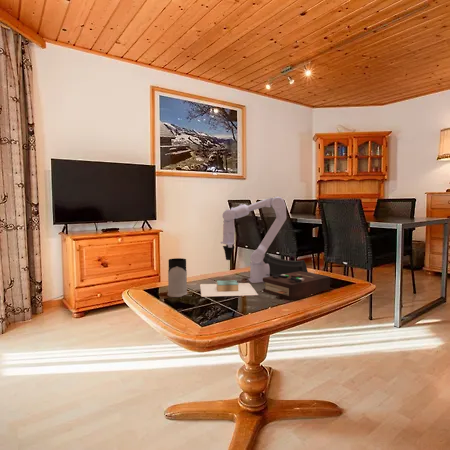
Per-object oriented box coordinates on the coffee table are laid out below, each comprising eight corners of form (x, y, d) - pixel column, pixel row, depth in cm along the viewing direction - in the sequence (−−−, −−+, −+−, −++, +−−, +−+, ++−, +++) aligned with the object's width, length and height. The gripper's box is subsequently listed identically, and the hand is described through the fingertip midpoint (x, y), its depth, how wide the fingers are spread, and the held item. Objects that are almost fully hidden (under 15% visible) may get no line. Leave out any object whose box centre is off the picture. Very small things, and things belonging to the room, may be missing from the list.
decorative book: (335, 274, 148) (290, 284, 130) (335, 291, 148) (290, 303, 130) (301, 268, 163) (256, 276, 145) (301, 283, 164) (256, 293, 145)
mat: (249, 283, 161) (249, 283, 161) (258, 295, 139) (258, 295, 139) (200, 285, 159) (200, 284, 159) (201, 297, 137) (201, 296, 137)
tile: (235, 280, 154) (238, 284, 146) (235, 286, 154) (238, 290, 146) (216, 280, 153) (218, 284, 145) (216, 287, 153) (218, 291, 145)
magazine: (313, 263, 167) (269, 241, 187) (310, 264, 164) (265, 242, 185) (304, 293, 171) (262, 269, 192) (301, 295, 169) (258, 270, 189)
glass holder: (166, 297, 137) (166, 261, 137) (169, 288, 152) (168, 256, 151) (187, 296, 138) (187, 261, 137) (188, 288, 152) (188, 256, 152)
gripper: (219, 232, 175) (219, 257, 176) (222, 234, 160) (221, 262, 161) (232, 232, 175) (232, 257, 176) (236, 234, 161) (236, 262, 162)
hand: (228, 259), depth 169 cm, fingers closed
